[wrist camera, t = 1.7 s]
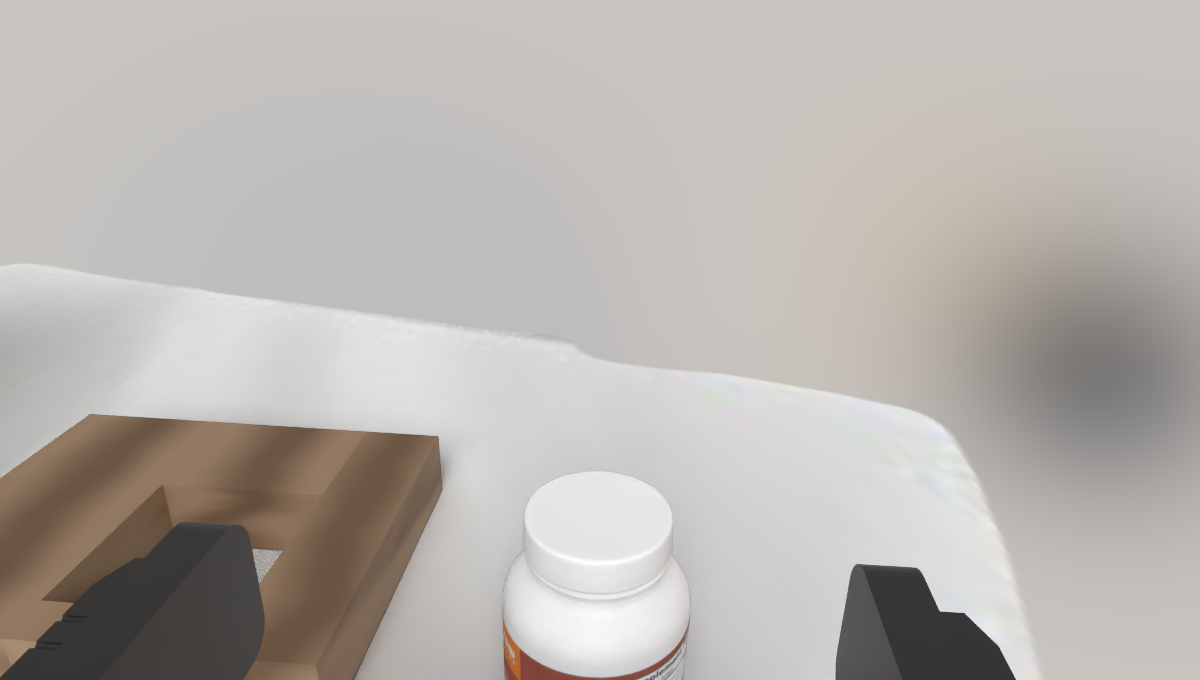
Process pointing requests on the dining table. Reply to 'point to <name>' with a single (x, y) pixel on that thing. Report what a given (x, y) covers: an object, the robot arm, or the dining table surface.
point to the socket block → (228, 496)
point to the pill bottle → (596, 585)
